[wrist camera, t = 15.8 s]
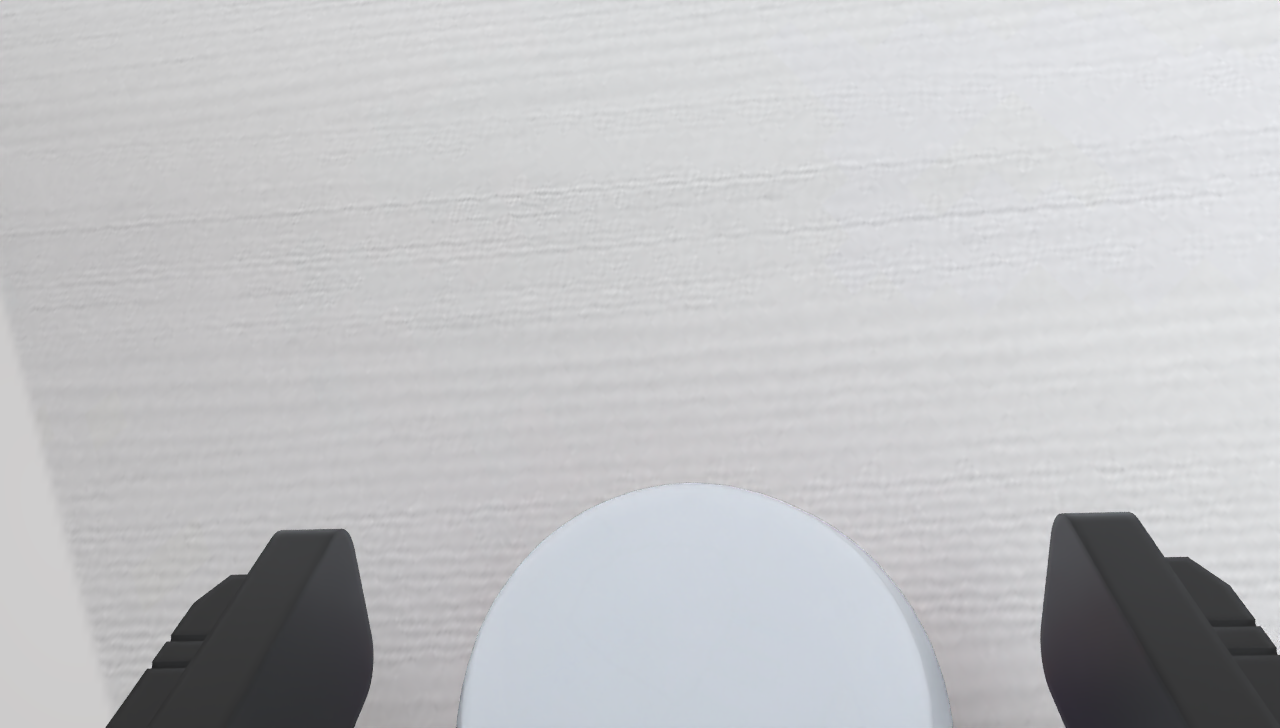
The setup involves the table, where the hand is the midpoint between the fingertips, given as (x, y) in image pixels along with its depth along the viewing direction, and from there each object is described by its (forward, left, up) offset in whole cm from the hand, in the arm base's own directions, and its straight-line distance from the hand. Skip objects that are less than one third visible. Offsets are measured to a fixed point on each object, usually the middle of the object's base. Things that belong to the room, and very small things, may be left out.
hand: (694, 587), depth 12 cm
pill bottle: (0, -2, -7) cm, 7 cm away
